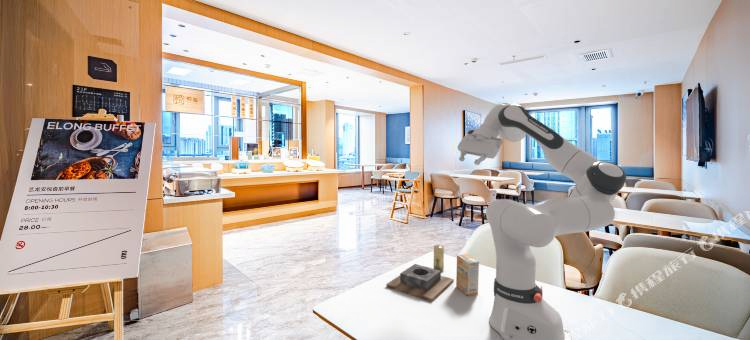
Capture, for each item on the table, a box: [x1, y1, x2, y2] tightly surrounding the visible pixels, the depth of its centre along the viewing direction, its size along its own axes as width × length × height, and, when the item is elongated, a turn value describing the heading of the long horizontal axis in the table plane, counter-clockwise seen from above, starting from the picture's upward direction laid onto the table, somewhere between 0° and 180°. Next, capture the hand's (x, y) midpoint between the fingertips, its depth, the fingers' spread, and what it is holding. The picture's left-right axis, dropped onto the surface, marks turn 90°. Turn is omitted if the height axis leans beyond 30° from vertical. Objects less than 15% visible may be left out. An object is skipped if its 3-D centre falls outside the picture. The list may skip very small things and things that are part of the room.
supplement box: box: [455, 253, 480, 296], centre depth 118 cm, size 8×5×13 cm, turn 17°
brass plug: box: [433, 244, 445, 273], centre depth 137 cm, size 4×4×11 cm
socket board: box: [385, 263, 454, 303], centre depth 124 cm, size 20×20×5 cm
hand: (468, 162), depth 131 cm, fingers open, 8 cm apart
